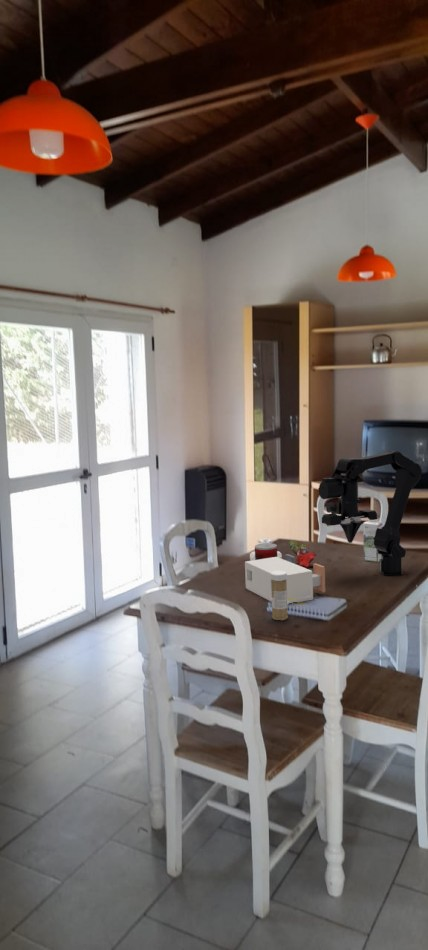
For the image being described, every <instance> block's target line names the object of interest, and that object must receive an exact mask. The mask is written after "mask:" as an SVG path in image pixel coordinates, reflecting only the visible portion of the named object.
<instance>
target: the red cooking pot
mask: <svg viewBox="0 0 428 950" xmlns="http://www.w3.org/2000/svg"><path fill="white" fill-rule="evenodd" d="M257 543H258V544H262V543H272V544H273V543H274V540H273V539H270V538H268V537H263V538H261V539H260V540H259V539H258V540H257ZM277 557H279V558H281V559H283V554H282V553H281V552H280V551H278V550H277ZM252 560H255V550H254V551H251V552H250V553H249V561H252Z"/></svg>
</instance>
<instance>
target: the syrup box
mask: <svg viewBox="0 0 428 950" xmlns="http://www.w3.org/2000/svg"><path fill="white" fill-rule="evenodd" d="M383 526H384V525H383V521H380V520H378V521H377V520H366V521H363V524H362V527H363V528H362V530H363V532H362V535H363V536H362V537H363V538H362V539H363V561H364V562H371V563H372V562H374V563H380V559H381V554H378V552H377V549H376V548H375V545H374V539H373V538H374V537H375V534H376V530H377V528H379V529H381V528H382V527H383Z"/></svg>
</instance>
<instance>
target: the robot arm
mask: <svg viewBox="0 0 428 950" xmlns="http://www.w3.org/2000/svg"><path fill="white" fill-rule="evenodd" d="M388 465H389V466H390V467H391V469H393V470H394V472H395V474H394V475H395V476H394V477H395V478H394V479H395V484H396V487H395V491H394V493H393V497H392V500H391V503H390V506H389V509H388V513H387V515H386V516H387V517H386V520H385V522H384V525H382V526H383V527H382V528H381V529H379V528H377V530H376V534H375V537H374V538H373V539H374V545H375V548H376V549H377V552H378V554H381V559H380V561H379V571H380V572H381V574H382V575H383V576H403V572H402V558H405V556H406V552H407V551H406V549H405V548H404V547H403V546H402V545H401V533H400V526H401V524H402V523H401V522H402V521H403V520H402V519H403V518H404V517H403V516H404V514H405V510H406V507H407V504H408V501H409V497H410V494H411V491H412V489H413V488H414V487H416V485H417V484H418V483H419V481H420V479H421V476H422V473H423V469H422V467H421V466H420V464H419V463H416V462H414V460H411V459H410V458H409V457H406V456H405V455H403V454H402V453H401V452H400V451H395V450H388V451H386V452H383V453H376V454H374V455H368V456H365V457H343V458H340V459H338V462H337V465H336V467H335V469H334V471H333V472H332V475H331V476H330V477H323V478H321V482H320V484H319V485H318V490H317V491H318V494H319V497H320V498H321V499H322V500H328V499H337V498H338V500H337V503H334V502H333V501H332V502H326V507H325V509H326V512H327V514H323V515H322V517H321V524H325V525H328V526H337V525H340V527H341V528H342V529H343V532H344V535H345V537H346V540H347V543H349V544H352V543H353V542H354V539H355V537H356V535H357V533H358V531H359V529H360V527H361V526H362V525H363V523H364V521H362V519H366V518H368V521H377V520H378V513H377V511H376V510H374V509H370V508H364V509H359V504H360V503H361V499H359V483H363V482H364V479H363V478H362V477H361V475H362V474H364V473H365V472H366V471H368V470H371V469H375V468H380V467H382V466H388Z"/></svg>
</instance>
